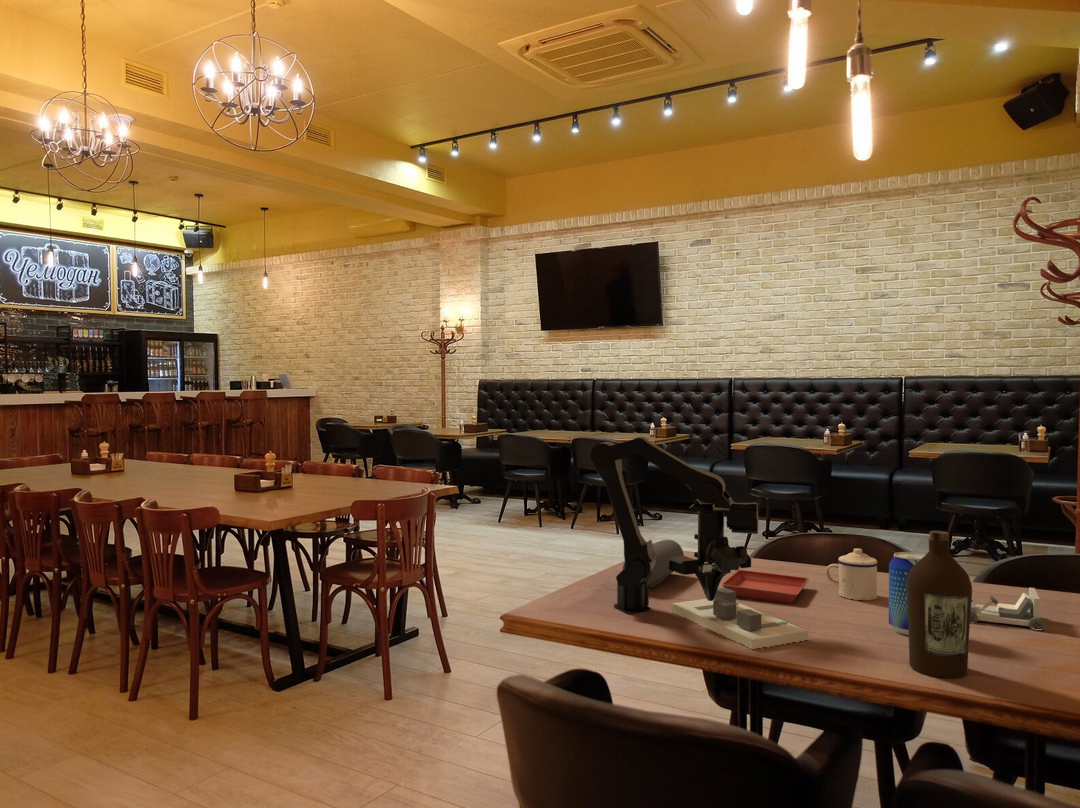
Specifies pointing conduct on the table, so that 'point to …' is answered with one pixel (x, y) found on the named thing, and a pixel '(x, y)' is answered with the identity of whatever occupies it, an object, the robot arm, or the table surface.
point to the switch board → (768, 635)
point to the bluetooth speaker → (662, 561)
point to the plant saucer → (765, 585)
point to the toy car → (1011, 611)
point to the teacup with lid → (856, 576)
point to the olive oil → (939, 612)
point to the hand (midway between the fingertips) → (710, 600)
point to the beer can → (900, 589)
